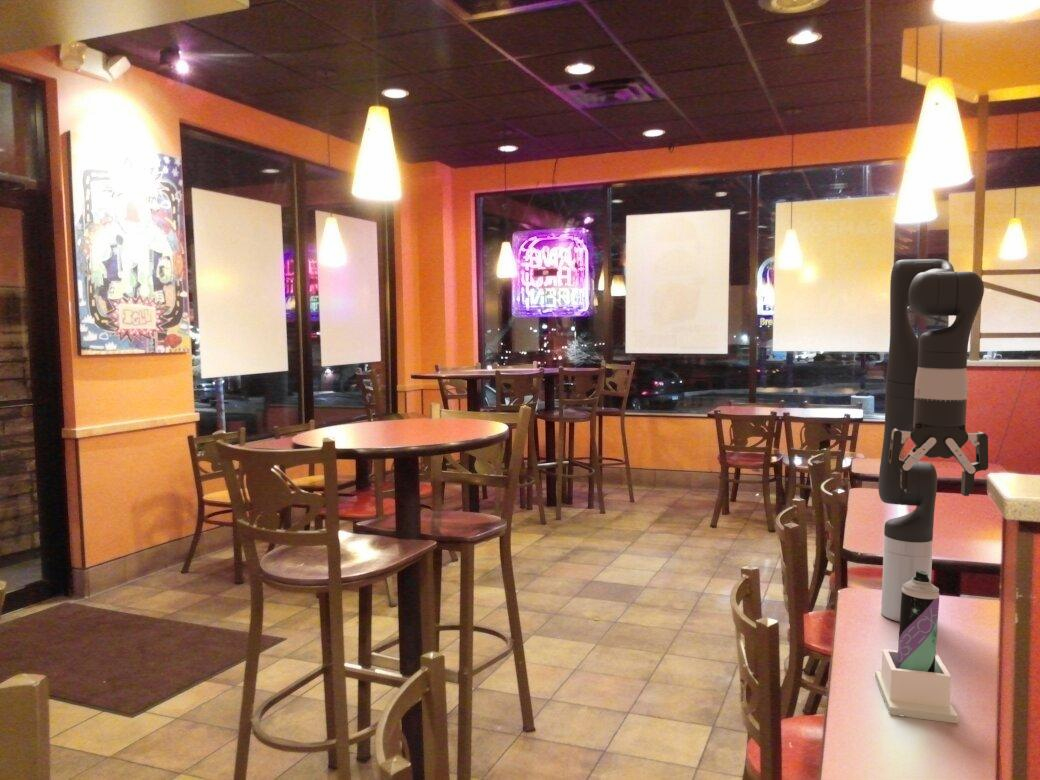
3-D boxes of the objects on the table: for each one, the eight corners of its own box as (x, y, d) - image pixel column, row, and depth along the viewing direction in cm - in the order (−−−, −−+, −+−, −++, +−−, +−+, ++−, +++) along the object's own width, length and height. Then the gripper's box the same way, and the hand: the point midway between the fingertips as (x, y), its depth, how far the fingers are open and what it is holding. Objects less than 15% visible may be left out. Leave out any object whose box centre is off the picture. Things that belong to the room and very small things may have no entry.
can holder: (875, 677, 136) (876, 642, 136) (936, 684, 134) (937, 649, 133) (889, 714, 123) (890, 676, 122) (957, 723, 120) (959, 684, 120)
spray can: (889, 683, 131) (897, 566, 130) (922, 684, 131) (930, 567, 130) (905, 698, 126) (912, 576, 124) (939, 699, 126) (947, 577, 124)
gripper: (983, 394, 128) (978, 491, 130) (888, 392, 132) (884, 486, 134) (996, 399, 121) (991, 501, 123) (896, 396, 125) (892, 495, 127)
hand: (935, 493), depth 128 cm, fingers open, 8 cm apart
